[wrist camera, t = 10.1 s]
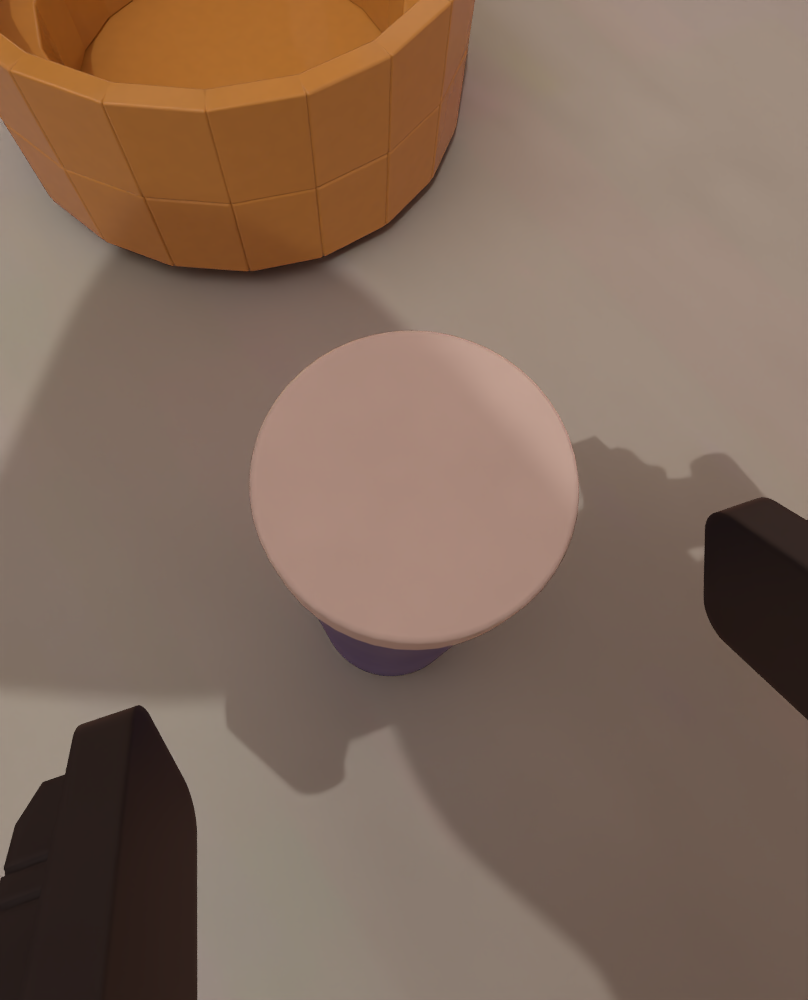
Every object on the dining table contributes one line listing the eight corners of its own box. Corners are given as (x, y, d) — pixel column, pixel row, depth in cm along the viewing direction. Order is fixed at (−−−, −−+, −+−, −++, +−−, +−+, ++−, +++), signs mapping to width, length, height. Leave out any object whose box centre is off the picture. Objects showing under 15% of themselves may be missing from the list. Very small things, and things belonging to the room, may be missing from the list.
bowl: (-60, 192, 20) (-232, -15, 14) (151, -98, 24) (81, -353, 18) (360, 347, 19) (356, 193, 14) (509, 22, 23) (556, -206, 17)
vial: (292, 648, 17) (189, 567, 7) (350, 513, 18) (327, 285, 8) (434, 705, 17) (521, 698, 7) (484, 564, 18) (619, 392, 8)
